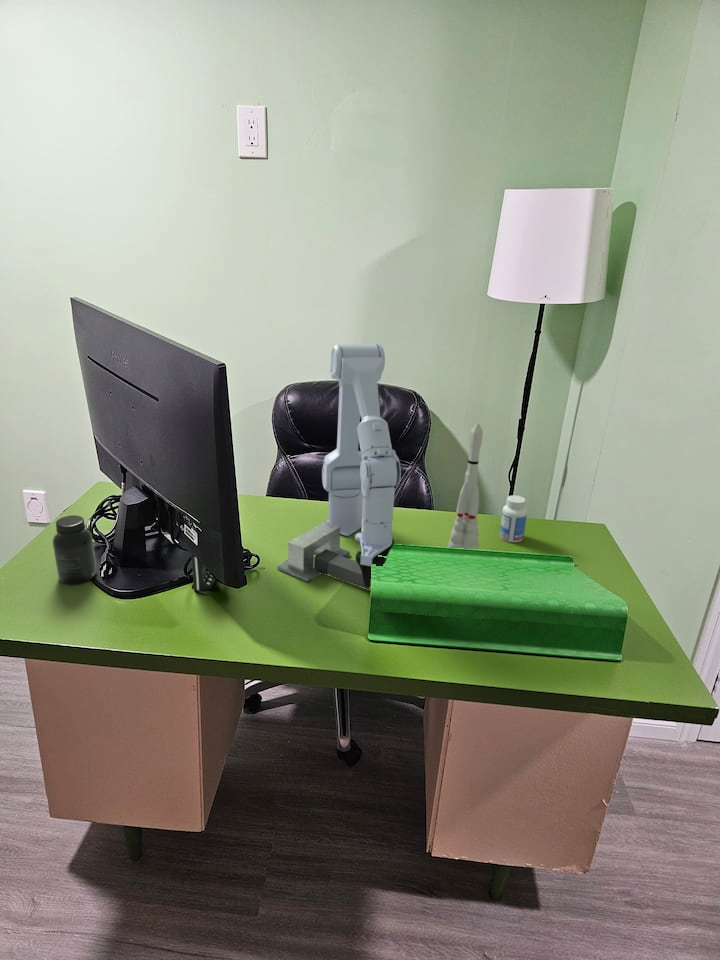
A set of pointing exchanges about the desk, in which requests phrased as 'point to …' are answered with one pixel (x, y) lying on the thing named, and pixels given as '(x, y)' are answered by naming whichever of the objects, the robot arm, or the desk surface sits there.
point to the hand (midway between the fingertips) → (373, 579)
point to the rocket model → (468, 499)
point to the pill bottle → (513, 519)
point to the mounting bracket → (311, 550)
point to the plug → (339, 567)
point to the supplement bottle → (73, 550)
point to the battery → (201, 576)
